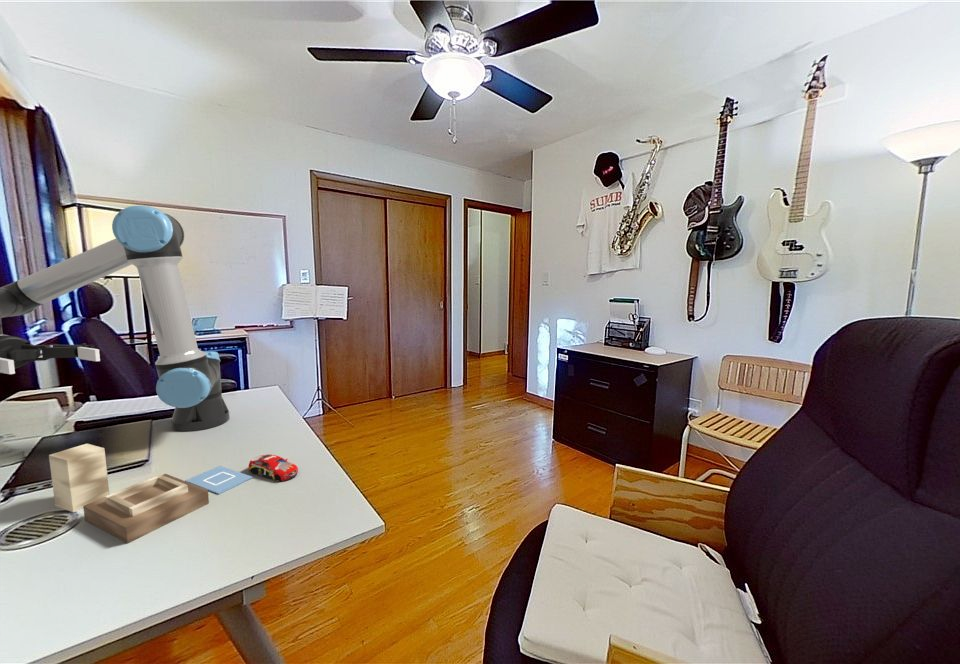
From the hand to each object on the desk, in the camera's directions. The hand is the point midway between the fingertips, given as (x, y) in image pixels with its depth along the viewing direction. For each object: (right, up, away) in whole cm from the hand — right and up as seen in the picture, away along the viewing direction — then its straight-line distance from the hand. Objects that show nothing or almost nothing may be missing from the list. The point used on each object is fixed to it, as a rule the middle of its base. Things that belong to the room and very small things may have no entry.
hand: (58, 360), depth 83 cm
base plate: (+23, -30, -4) cm, 38 cm away
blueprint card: (+29, -29, +9) cm, 41 cm away
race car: (+39, -29, +13) cm, 50 cm away
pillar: (+7, -29, -1) cm, 30 cm away
